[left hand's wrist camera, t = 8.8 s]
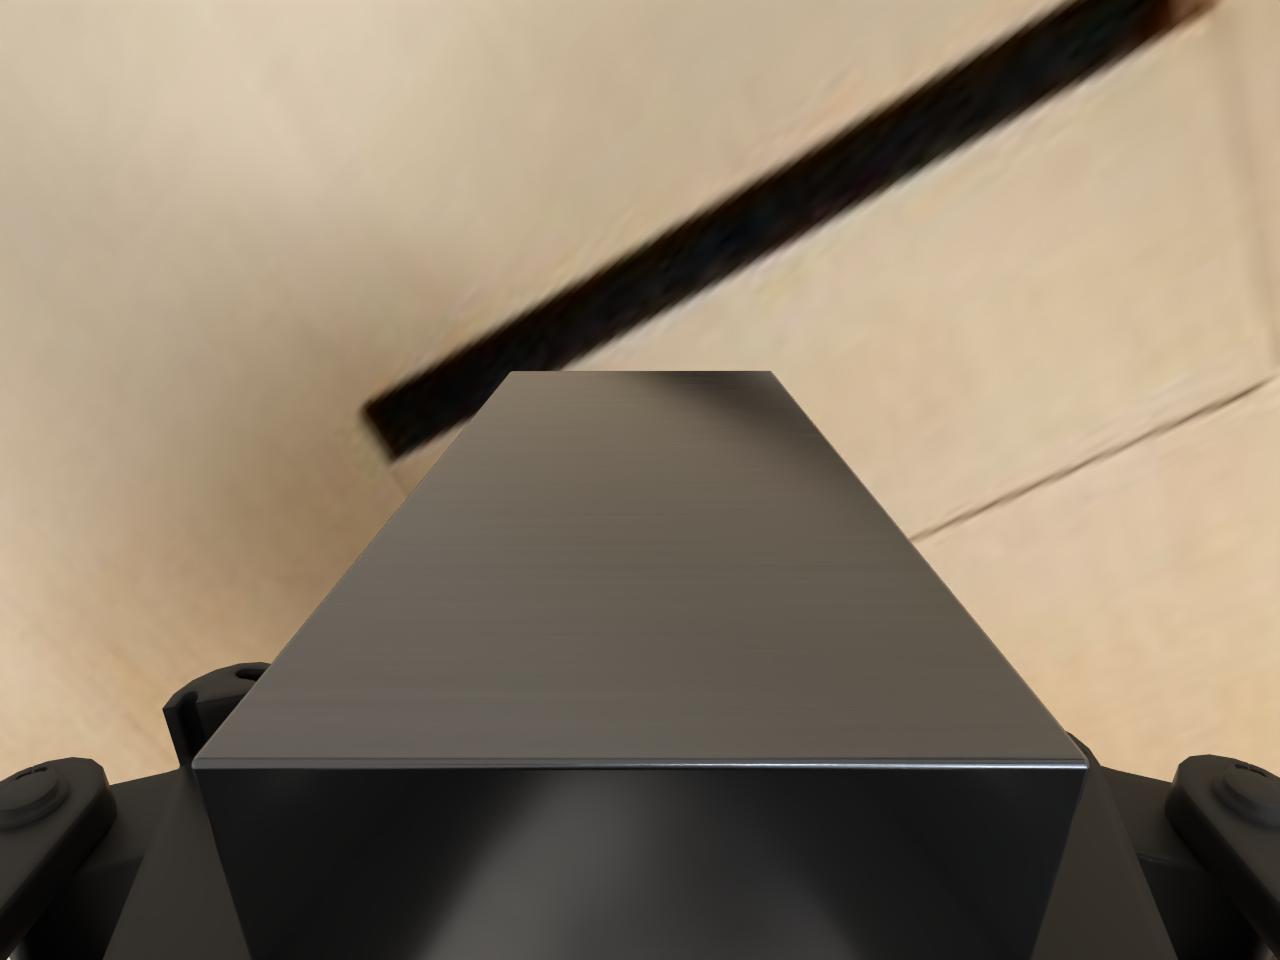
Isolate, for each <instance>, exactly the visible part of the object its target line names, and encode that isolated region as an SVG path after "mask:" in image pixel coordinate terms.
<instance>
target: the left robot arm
mask: <svg viewBox="0 0 1280 960" xmlns="http://www.w3.org/2000/svg"><path fill="white" fill-rule="evenodd" d="M270 665H271V664H268V663H263V662H256V663H241V664H236V665H232V666H229V667H225V668H221V669H217V670H214V671H212V672H210V673H208V674H206V675H204V676H201V677H199V678H197V679H195V680H193V681H191V682H190V683H189V684H187V685H186V686H184V687H183V688H182V689H180V690H179V691H177V692H176V693H175V694H174V695H173V696H172V697H171V698H170V700H169V701H168V702H167V703H166V705H165V706H164V707H163V709H162V710H163V713H164V716H165V719H166V722H167V725H168V728H169V732H170V735H171V738H172V741H173V744H174V747H175V750H176V753H177V757H178V760H179V763H180V767H179V769H177V770H173V771H170V772H167V773H162V774H158V775H153V776H149V777H145V778H140V779H136V780H131V781H127V782H123V783H118V784H114V785H109V783H108V780H107V777H106V775H105V772H104V769H103V767H102V766H100V765H99V764H98V763H96V762H95V761H94V760H92V759H86V758H76V757H70V758H65V759H59V760H53V761H47V762H44V763H41V764H38V765H35V766H33V767H29V768H27V769H24V770H22V771H19V772H17V773H15V774H14V775H12V776H10V777H8V778H6V779H4V780H2V781H1V782H0V960H7V958H8V957H10V959H11V960H251V958H250V955H249V952H248V948H247V945H246V942H245V939H244V936H243V932H242V929H241V926H240V923H239V920H238V916H237V913H236V910H235V907H234V904H233V900H232V897H231V894H230V891H229V887H228V884H227V881H226V878H225V875H224V871H223V868H222V865H221V862H220V859H219V855H218V852H217V849H216V846H215V843H214V839H213V836H212V833H211V830H210V827H209V823H208V820H207V817H206V814H205V811H204V807H203V804H202V801H201V798H200V795H199V791H198V788H197V785H196V782H195V778H194V775H193V772H192V769H191V767H192V762H193V759H194V757H195V756H196V755H197V754H198V752H199V751H200V750H201V749H202V748H203V746H204V745H205V744H206V743H207V742H208V740H209V739H210V738H211V737H212V735H213V734H214V733H215V732H216V731H217V729H218V728H219V727H220V726H221V724H222V723H223V722H224V721H225V720H226V718H227V717H228V716H229V715H230V713H231V712H232V711H233V710H234V709H235V707H236V706H237V705H238V704H239V703H240V701H241V700H242V699H243V698H244V696H245V695H246V694H247V693H248V692H249V690H250V689H251V688H252V687H253V685H254V684H255V683H256V682H257V681H258V679H259V678H260V677H261V676H262V674H263V673H264V672H265V671H266V670H267V668H268V667H269V666H270ZM1066 733H1067V734H1068V735H1069V736H1070V738H1071V739H1072V740H1073V741H1074V742H1075V744H1076V745H1077V746H1078V747H1079V749H1080V750H1081V751H1082V752H1083V753H1084V755H1085V756H1086V757H1087V758H1088V761H1089V765H1090V770H1089V773H1088V776H1087V780H1086V783H1085V786H1084V789H1083V793H1082V796H1081V799H1080V802H1079V806H1078V809H1077V812H1076V815H1075V819H1074V822H1073V825H1072V828H1071V832H1070V835H1069V838H1068V841H1067V845H1066V848H1065V851H1064V854H1063V858H1062V861H1061V864H1060V867H1059V871H1058V874H1057V877H1056V880H1055V884H1054V887H1053V890H1052V893H1051V897H1050V900H1049V903H1048V906H1047V910H1046V913H1045V916H1044V919H1043V923H1042V926H1041V929H1040V932H1039V936H1038V939H1037V942H1036V945H1035V949H1034V952H1033V955H1032V958H1031V960H1270V959H1271V957H1272V955H1273V954H1274V955H1275V956H1276V958H1277V959H1278V960H1280V778H1279V777H1277V776H1275V775H1274V774H1272V773H1270V772H1268V771H1266V770H1264V769H1262V768H1260V767H1257V766H1255V765H1252V764H1248V763H1246V762H1243V761H1240V760H1237V759H1233V758H1228V757H1222V756H1216V755H1210V754H1209V755H1199V756H1190V757H1188V758H1187V759H1186V760H1184V761H1183V762H1182V763H1180V764H1179V766H1178V768H1177V771H1176V774H1175V776H1174V779H1173V782H1172V783H1171V782H1166V781H1162V780H1157V779H1153V778H1148V777H1144V776H1140V775H1135V774H1131V773H1126V772H1122V771H1117V770H1114V769H1110V768H1107V767H1103V766H1100V764H1099V762H1098V761H1097V759H1096V758H1095V756H1094V755H1093V753H1092V752H1091V751H1090V749H1089V748H1088V747H1087V746H1085V745H1084V744H1083V743H1082V742H1081V741H1079V740H1078V739H1077V738H1076V737H1074V736H1073V735H1072V734H1070V733H1068V732H1067V731H1066Z"/></svg>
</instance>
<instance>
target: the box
mask: <svg viewBox="0 0 1280 960" xmlns="http://www.w3.org/2000/svg"><path fill="white" fill-rule="evenodd" d="M191 769H192V772H193V775H194V778H195V782H196V785H197V788H198V791H199V795H200V798H201V801H202V804H203V807H204V811H205V814H206V817H207V820H208V823H209V827H210V830H211V833H212V836H213V839H214V843H215V846H216V849H217V852H218V855H219V859H220V862H221V865H222V868H223V871H224V875H225V878H226V881H227V884H228V887H229V891H230V894H231V897H232V900H233V904H234V907H235V910H236V913H237V916H238V920H239V923H240V926H241V929H242V932H243V936H244V939H245V942H246V945H247V948H248V952H249V955H250V958H251V960H1031V958H1032V955H1033V952H1034V949H1035V945H1036V942H1037V939H1038V936H1039V932H1040V929H1041V926H1042V923H1043V919H1044V916H1045V913H1046V910H1047V906H1048V903H1049V900H1050V897H1051V893H1052V890H1053V887H1054V884H1055V880H1056V877H1057V874H1058V871H1059V867H1060V864H1061V861H1062V858H1063V854H1064V851H1065V848H1066V845H1067V841H1068V838H1069V835H1070V832H1071V828H1072V825H1073V822H1074V819H1075V815H1076V812H1077V809H1078V806H1079V802H1080V799H1081V796H1082V793H1083V789H1084V786H1085V783H1086V780H1087V776H1088V773H1089V770H1090V765H1089V761H1088V758H1087V757H1086V756H1085V755H1084V753H1083V752H1082V751H1081V750H1080V749H1079V747H1078V746H1077V745H1076V744H1075V742H1074V741H1073V740H1072V739H1071V738H1070V736H1069V735H1068V734H1067V733H1066V731H1065V730H1064V729H1063V728H1062V726H1061V725H1060V724H1059V723H1058V722H1057V720H1056V719H1055V718H1054V717H1053V715H1052V714H1051V713H1050V712H1049V711H1048V709H1047V708H1046V707H1045V706H1044V704H1043V703H1042V702H1041V701H1040V700H1039V698H1038V697H1037V696H1036V695H1035V693H1034V692H1033V691H1032V690H1031V689H1030V687H1029V686H1028V685H1027V684H1026V682H1025V681H1024V680H1023V679H1022V678H1021V676H1020V675H1019V674H1018V673H1017V671H1016V670H1015V669H1014V668H1013V667H1012V665H1011V664H1010V663H1009V662H1008V660H1007V659H1006V658H1005V657H1004V655H1003V654H1002V653H1001V652H1000V651H999V649H998V648H997V647H996V646H995V644H994V643H993V642H992V641H991V640H990V638H989V637H988V636H987V635H986V633H985V632H984V631H983V630H982V629H981V627H980V626H979V625H978V624H977V622H976V621H975V620H974V619H973V618H972V616H971V615H970V614H969V613H968V611H967V610H966V609H965V608H964V607H963V605H962V604H961V603H960V602H959V600H958V599H957V598H956V597H955V596H954V594H953V593H952V592H951V591H950V589H949V588H948V587H947V586H946V584H945V583H944V582H943V581H942V580H941V578H940V577H939V576H938V575H937V573H936V572H935V571H934V570H933V569H932V567H931V566H930V565H929V564H928V562H927V561H926V560H925V559H924V558H923V556H922V555H921V554H920V553H919V551H918V550H917V549H916V548H915V547H914V545H913V544H912V543H911V542H910V540H909V539H908V538H907V537H906V536H905V534H904V533H903V532H902V531H901V529H900V528H899V527H898V526H897V525H896V523H895V522H894V521H893V520H892V518H891V517H890V516H889V515H888V513H887V512H886V511H885V510H884V509H883V507H882V506H881V505H880V504H879V502H878V501H877V500H876V499H875V498H874V496H873V495H872V494H871V493H870V491H869V490H868V489H867V488H866V487H865V485H864V484H863V483H862V482H861V480H860V479H859V478H858V477H857V476H856V474H855V473H854V472H853V471H852V469H851V468H850V467H849V466H848V465H847V463H846V462H845V461H844V460H843V458H842V457H841V456H840V455H839V454H838V452H837V451H836V450H835V449H834V447H833V446H832V445H831V444H830V442H829V441H828V440H827V439H826V438H825V436H824V435H823V434H822V433H821V431H820V430H819V429H818V428H817V427H816V425H815V424H814V423H813V422H812V420H811V419H810V418H809V417H808V416H807V414H806V413H805V412H804V411H803V409H802V408H801V407H800V406H799V405H798V403H797V402H796V401H795V400H794V398H793V397H792V396H791V395H790V394H789V392H788V391H787V390H786V389H785V387H784V386H783V385H782V384H781V383H780V381H779V380H778V379H777V378H776V376H775V375H774V374H773V373H772V372H771V371H512V372H510V373H509V375H508V376H507V377H506V378H505V380H504V381H503V382H502V383H501V384H500V386H499V387H498V388H497V389H496V391H495V392H494V393H493V394H492V395H491V397H490V398H489V399H488V400H487V401H486V403H485V404H484V405H483V406H482V408H481V409H480V410H479V411H478V412H477V414H476V415H475V416H474V417H473V419H472V420H471V421H470V422H469V423H468V425H467V426H466V427H465V428H464V430H463V431H462V432H461V433H460V434H459V436H458V437H457V438H456V439H455V440H454V442H453V443H452V444H451V445H450V447H449V448H448V449H447V450H446V451H445V453H444V454H443V455H442V456H441V458H440V459H439V460H438V461H437V462H436V464H435V465H434V466H433V467H432V469H431V470H430V471H429V472H428V473H427V475H426V476H425V477H424V478H423V479H422V481H421V482H420V483H419V484H418V486H417V487H416V488H415V489H414V490H413V492H412V493H411V494H410V495H409V497H408V498H407V499H406V500H405V501H404V503H403V504H402V505H401V506H400V508H399V509H398V510H397V511H396V512H395V514H394V515H393V516H392V517H391V518H390V520H389V521H388V522H387V523H386V525H385V526H384V527H383V528H382V529H381V531H380V532H379V533H378V534H377V536H376V537H375V538H374V539H373V540H372V542H371V543H370V544H369V545H368V547H367V548H366V549H365V550H364V551H363V553H362V554H361V555H360V556H359V557H358V559H357V560H356V561H355V562H354V564H353V565H352V566H351V567H350V568H349V570H348V571H347V572H346V573H345V575H344V576H343V577H342V578H341V579H340V581H339V582H338V583H337V584H336V586H335V587H334V588H333V589H332V590H331V592H330V593H329V594H328V595H327V596H326V598H325V599H324V600H323V601H322V603H321V604H320V605H319V606H318V607H317V609H316V610H315V611H314V612H313V614H312V615H311V616H310V617H309V618H308V620H307V621H306V622H305V623H304V625H303V626H302V627H301V628H300V629H299V631H298V632H297V633H296V634H295V635H294V637H293V638H292V639H291V640H290V642H289V643H288V644H287V645H286V646H285V648H284V649H283V650H282V651H281V653H280V654H279V655H278V656H277V657H276V659H275V660H274V661H273V662H272V664H271V665H270V666H269V667H268V668H267V670H266V671H265V672H264V673H263V674H262V676H261V677H260V678H259V679H258V681H257V682H256V683H255V684H254V685H253V687H252V688H251V689H250V690H249V692H248V693H247V694H246V695H245V696H244V698H243V699H242V700H241V701H240V703H239V704H238V705H237V706H236V707H235V709H234V710H233V711H232V712H231V713H230V715H229V716H228V717H227V718H226V720H225V721H224V722H223V723H222V724H221V726H220V727H219V728H218V729H217V731H216V732H215V733H214V734H213V735H212V737H211V738H210V739H209V740H208V742H207V743H206V744H205V745H204V746H203V748H202V749H201V750H200V751H199V752H198V754H197V755H196V756H195V757H194V759H193V762H192V767H191Z"/></svg>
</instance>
